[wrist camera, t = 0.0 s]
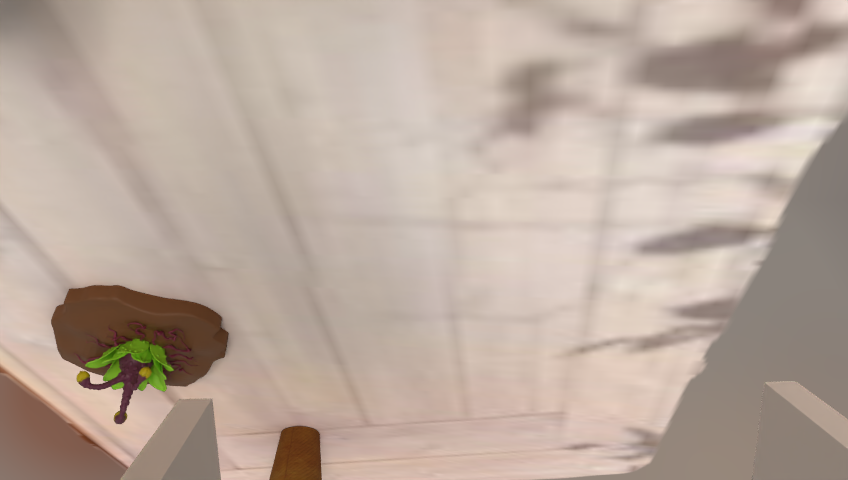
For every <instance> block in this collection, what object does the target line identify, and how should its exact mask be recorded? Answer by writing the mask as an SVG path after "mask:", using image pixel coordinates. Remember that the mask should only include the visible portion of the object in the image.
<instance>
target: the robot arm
mask: <svg viewBox="0 0 848 480" xmlns="http://www.w3.org/2000/svg"><path fill="white" fill-rule="evenodd" d="M120 480H221V477H220V467H219V458H218V449H217V439H216V430H215V420H214V411H213V402H212V399H180V400H178V402H177V403H176V404H175V406H174V407H173V408H172V410H171V411H170V413H169V414H168V415H167V417H166V418H165V419H164V421H163V422H162V423H161V425H160V426H159V428H158V429H157V430H156V432H155V433H154V434H153V436H152V437H151V438H150V440H149V441H148V442H147V444H146V445H145V447H144V448H143V449H142V451H141V452H140V453H139V455H138V456H137V457H136V459H135V460H134V462H133V463H132V464H131V466H130V467H129V468H128V470H127V471H126V472H125V474H124V475H123V476H122V478H121V479H120ZM752 480H848V419H846V418H845V417H844V416H842V415H841V414H840V413H838V412H837V411H835V410H834V409H833V408H831V407H830V406H829V405H827V404H826V403H825V402H823V401H822V400H820V399H819V398H818V397H816V396H815V395H814V394H812V393H811V392H810V391H808V390H807V389H805V388H804V387H802V386H801V385H800V384H799V383H797V382H796V381H788V382H764V389H763V396H762V404H761V413H760V421H759V428H758V436H757V444H756V452H755V460H754V468H753V476H752Z"/></svg>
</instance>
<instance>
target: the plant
mask: <svg viewBox="0 0 848 480" xmlns="http://www.w3.org/2000/svg"><path fill="white" fill-rule="evenodd" d="M221 320H222V317H221V316H220V315H218V314H217V313H216V312H214V311H213V310H211V309H209V308H208V307H206V306H203V305H201V304H198V303H194V302H189V301H183V300H176V299H168V298H162V297H157V296H153V295H149V294H145V293H141V292H137V291H133V290H130V289H127V288H125V287H123V286H118V285H113V286H102V285H94V286H88V287H85V288H78V289H69V291H68V293H67V296H66V298H65V301H64V304H63V305H60V306H57V307H56V309H55V312H54V314H53V316H52V320H51V324H52V327H53V330H54V334H55V339H56V344H57V348H58V351H59V353H60V355H61V357H62V358H63V359H64V360H66V361H69V362H71V363H73V364H75V365H77V366H79V367H81V368H83V369H85V370H87V371H89V372H92V373H95V374H99V375H103V376H104V377H103V381H108V382H106V383H103V384H91V383H90V375H89V373H88V372H86V371H80V373H79V374H78V375H77V382H78V383H79V384H80V385H81V386H83V387H84V388H89V389H93V390H95V389H96V390H101V389H106V388H108V387H112V389H113V390H116V389H120V388H123V390H124V392H123V394H122V401H121V405H120V411H118V412H117V413H116V414H115V415H114V421H115V423H116V424H122V423H124V422H125V420H126V419H127V414H126V410H127V409H126V408H127V406H128V405H129V400H130V399H131V395H132V394H133V390H137V388H138V389H139V390H141V391H143V390H144V389H145V388H146V385H147V384H151V385H152V386H153V387H154V388H156V389H158V390H161V391H166V389H167V387H166V385H170V386H188V385H189V384H191V383H194V382H195V381H196V380H198V379H199V378H201V377H203V376H204V375H206V374H207V372H208V370H209V369H210V367H211V365H212V363H213V362H214V361H215V360H218V359H220V358H224V357H225V352H226V347H227V345H226V344H227V339H228V332H227V331H225V330H224V329H222V328H221V327H220V326H221Z"/></svg>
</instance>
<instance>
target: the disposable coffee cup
mask: <svg viewBox="0 0 848 480" xmlns="http://www.w3.org/2000/svg"><path fill="white" fill-rule="evenodd" d="M321 477H322V476H321V456H320V434H319V432H318V431H317V430H315V429H313V428H309V427H303V426H295V427H289V428H286V429H284V430H283V431H282V432H281V436H280V440H279V444H278V448H277V452H276V456H275V460H274V464H273V467H272V471H271V475H270V479H269V480H322V478H321Z"/></svg>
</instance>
